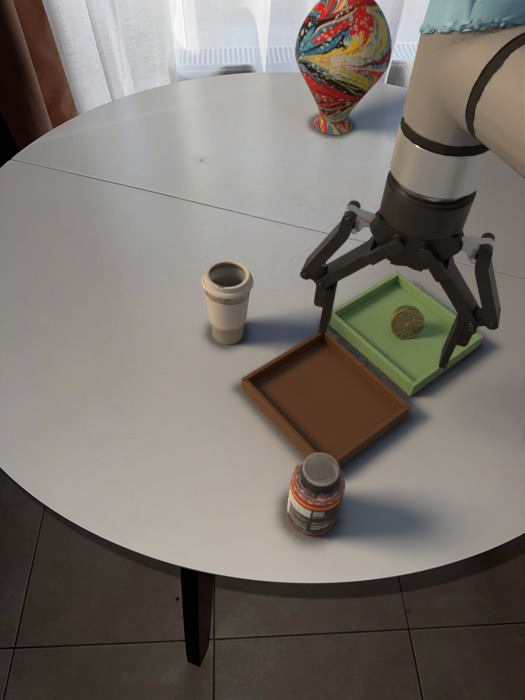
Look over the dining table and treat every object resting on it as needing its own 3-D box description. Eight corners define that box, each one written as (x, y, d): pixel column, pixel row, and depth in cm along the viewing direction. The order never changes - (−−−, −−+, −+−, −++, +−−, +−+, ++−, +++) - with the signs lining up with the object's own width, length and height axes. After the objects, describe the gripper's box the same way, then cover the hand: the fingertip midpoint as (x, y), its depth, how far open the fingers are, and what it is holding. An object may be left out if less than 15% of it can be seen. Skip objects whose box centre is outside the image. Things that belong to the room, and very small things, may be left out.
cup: (197, 343, 85) (193, 284, 76) (212, 312, 89) (210, 252, 80) (244, 354, 84) (245, 296, 75) (256, 322, 88) (259, 263, 79)
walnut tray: (407, 416, 79) (411, 406, 77) (324, 478, 72) (327, 469, 70) (322, 339, 87) (324, 328, 85) (241, 388, 80) (241, 378, 79)
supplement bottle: (317, 482, 72) (329, 434, 63) (345, 522, 69) (362, 477, 60) (276, 504, 70) (282, 458, 61) (303, 547, 67) (314, 504, 58)
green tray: (478, 346, 87) (483, 336, 85) (410, 396, 81) (414, 386, 79) (394, 282, 95) (397, 271, 94) (326, 322, 89) (328, 312, 87)
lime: (424, 333, 88) (432, 311, 84) (401, 348, 86) (409, 325, 82) (402, 316, 90) (410, 293, 86) (380, 329, 88) (387, 306, 84)
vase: (284, 143, 121) (296, -19, 98) (293, 99, 133) (306, -54, 110) (375, 153, 120) (409, -9, 97) (376, 108, 132) (406, -45, 109)
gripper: (588, 187, 49) (498, 349, 65) (304, 125, 53) (287, 290, 70) (589, 241, 44) (492, 400, 60) (278, 168, 49) (267, 334, 65)
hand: (382, 342), depth 65 cm, fingers open, 13 cm apart
